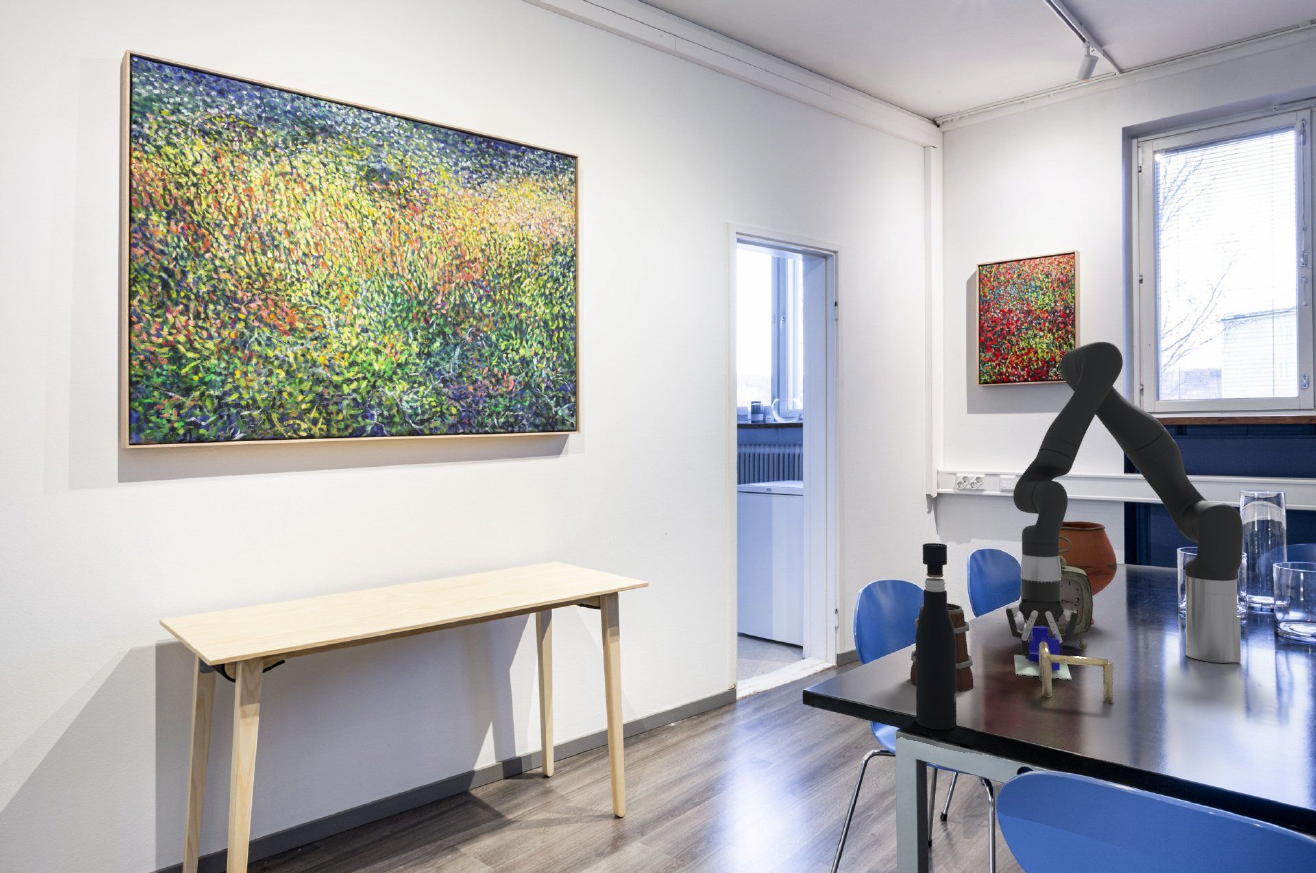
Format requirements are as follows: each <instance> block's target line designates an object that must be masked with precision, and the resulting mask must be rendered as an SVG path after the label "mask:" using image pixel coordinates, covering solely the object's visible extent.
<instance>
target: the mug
mask: <svg viewBox="0 0 1316 873" xmlns="http://www.w3.org/2000/svg"><path fill="white" fill-rule="evenodd" d="M923 607H924V603H922V604H921V606H920V607H919V614H918V618H915V619H914V628H916V629H917V626H918V621H919V618H920V615H921V612H922V610H923ZM947 608H948V611H949V614H950V617H951V620H952V623H953V627H954V631H955V637H956V691H961V692H963V691H966V690H970V689H973V688H974V675H973V671H972V668H971V667H972V666H973V663H974V661H973V656H972V655H970V654H969V651H968V642H967V633H966V632H969V631H970V624H969V622H968V621H966V620H965V613H964V609H963V606H962V605H959V604H955V603H949V602H947ZM910 657H911V658H910V660H911V662H912V664H911V666H910V674H909V675H910V676H909V677H910V680H909V681H910V683H911V684H914V685H916V649H915V650H912V651H911V656H910Z"/></svg>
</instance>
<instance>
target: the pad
mask: <svg viewBox="0 0 1316 873" xmlns="http://www.w3.org/2000/svg"><path fill="white" fill-rule="evenodd" d="M1013 659H1014V669H1015V670H1014V672H1015V675H1016V676H1022V675H1026V676H1025V677H1033V676H1039V663H1038V662H1037V661H1029V660H1028V659H1025V656H1023V655H1021V654H1013ZM1017 674H1018V675H1017ZM1056 678H1059V679H1058V680H1060V679H1061V680H1067V679H1068V680H1069V681H1072V675H1071V673H1070V670H1069V666H1068V664H1064V663H1060V670H1052V679H1056Z"/></svg>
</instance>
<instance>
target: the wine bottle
mask: <svg viewBox="0 0 1316 873" xmlns="http://www.w3.org/2000/svg"><path fill="white" fill-rule="evenodd" d="M922 564H923V565H926V570H927V571H926V576H927V577H928V578H925V580H924V583H925V585H924V588H925V589H924V590H923V592H922V593H923V604H924V607H923V610H922V612H921V615H920V618H919V617H918V618H919V621H918V626H917V628H916V630H915V650H916V684H915V709H916V710H915V711H916V712H915V714H916V715H915V717H916V718H915V720H916V721H915V722H916V723H917V724H918V725H919V726H920V727H924V728H927V729H930V730H937V731H944V730H945V731H946V730H948V731H949V730H952V729H954V728H956V727H957V725H958V724H957V692H956V637H955V631H954V627H953V623H952V620H951V617H950V614H949V611H948V608H947V603H948V591H947V590H946V587H947V586H946V582H945V579H944V578H943V577H944V567H943V566H946V565H947V564H948V545H947V544H946V543H937V542H928V543H927V542H925V543H923V544H922Z"/></svg>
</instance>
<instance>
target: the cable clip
mask: <svg viewBox="0 0 1316 873" xmlns="http://www.w3.org/2000/svg"><path fill="white" fill-rule="evenodd" d="M1030 638H1031V640H1029V659H1028V660H1029V661H1037V662H1038V663H1039V644H1040V643H1041V642H1042V641H1044V642H1046V643H1047V645H1048V649H1049V653H1050V654H1051V655H1060V651H1059V639H1058V638H1052V637H1049V633H1048V628H1047V627H1044V626H1033V627H1032V630H1031V632H1030ZM1051 670H1060V663H1053V662H1051Z"/></svg>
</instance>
